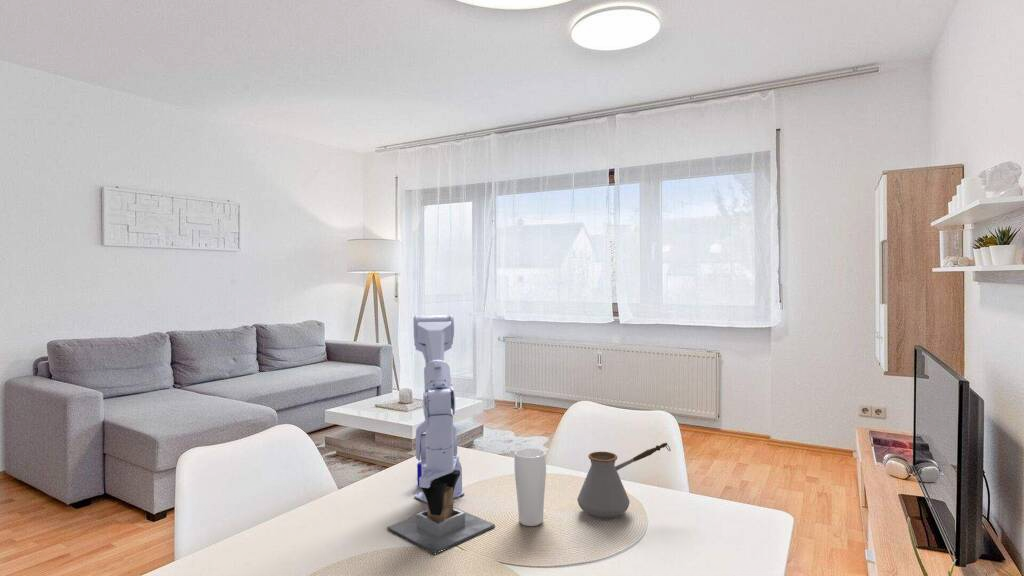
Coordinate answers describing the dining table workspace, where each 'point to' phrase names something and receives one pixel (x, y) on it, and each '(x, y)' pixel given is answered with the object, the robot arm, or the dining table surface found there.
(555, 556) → the dining table surface
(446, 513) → the rail end post
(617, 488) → the coffee pot
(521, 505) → the drinking glass
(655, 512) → the dining table surface
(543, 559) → the dining table surface
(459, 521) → the grey square socket base
